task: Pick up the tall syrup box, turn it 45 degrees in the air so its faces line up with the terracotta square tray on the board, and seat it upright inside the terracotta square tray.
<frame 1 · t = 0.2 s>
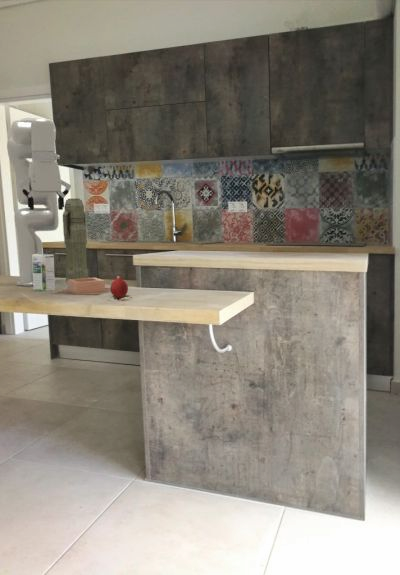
hand: (46, 209, 181), 30 cm above the countertop, tool pointing down, fingers open, 9 cm apart
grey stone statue: (77, 287, 215), on the countertop
syrup box: (44, 293, 199), on the countertop
board: (86, 294, 194), on the countertop
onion: (119, 300, 181), on the countertop
terracotta square tray: (86, 290, 194), resting on board
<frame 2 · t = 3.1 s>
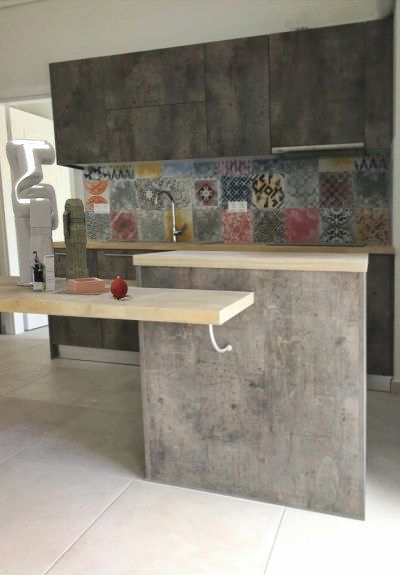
hand: (44, 280, 198), 5 cm above the countertop, tool pointing down, fingers closed on syrup box, 6 cm apart
syrup box: (44, 293, 199), on the countertop, touching gripper
everything else where it was.
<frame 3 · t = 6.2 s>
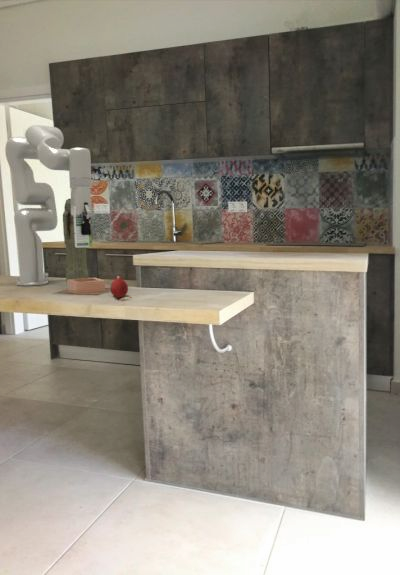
hand: (82, 234, 191), 22 cm above the countertop, tool pointing down, fingers closed on syrup box, 6 cm apart
syrup box: (83, 247, 192), point 17 cm above the countertop, touching gripper
everything else where it was.
when the fingers open (7 cm above the countertop, at t = 9.2 s): syrup box drops 1 cm, resting on board.
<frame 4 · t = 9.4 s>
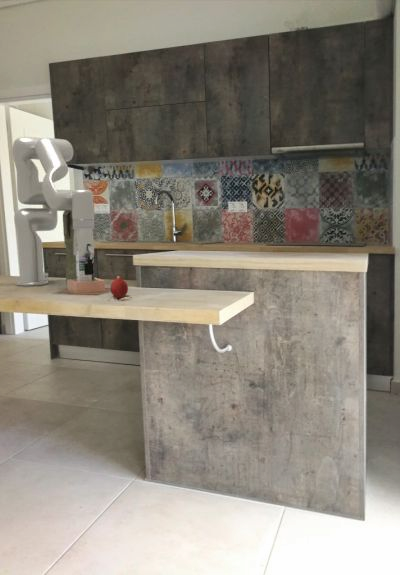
hand: (85, 273, 193), 8 cm above the countertop, tool pointing down, fingers open, 8 cm apart
syrup box: (85, 291, 194), point 1 cm above the countertop, touching board
everything else where it was.
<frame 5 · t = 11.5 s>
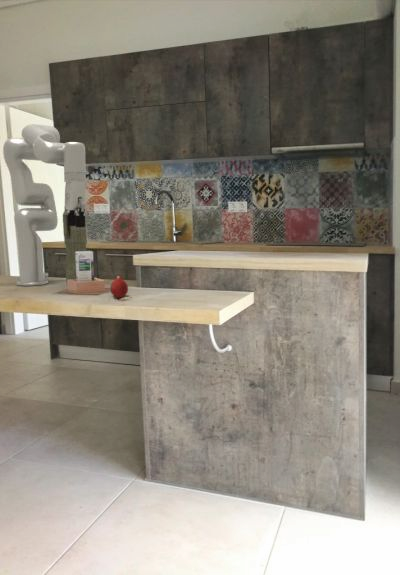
hand: (76, 226, 193), 24 cm above the countertop, tool pointing down, fingers open, 9 cm apart
nothing on the countertop moved.
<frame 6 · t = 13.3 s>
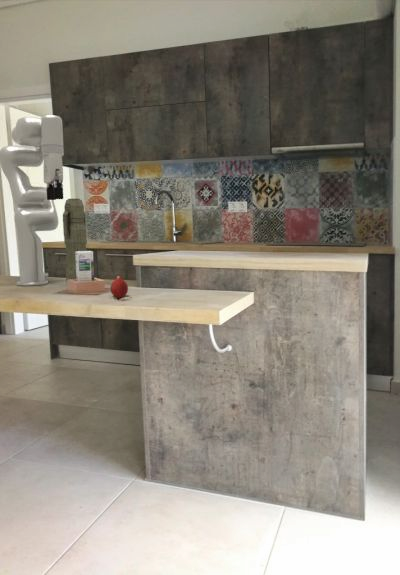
hand: (55, 199, 195), 34 cm above the countertop, tool pointing down, fingers open, 9 cm apart
nothing on the countertop moved.
at the end: syrup box 0.4 cm off-centre on the terracotta square tray, point 0.0 cm above the terracotta square tray's base; syrup box tilted 0°; the gripper is holding nothing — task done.
